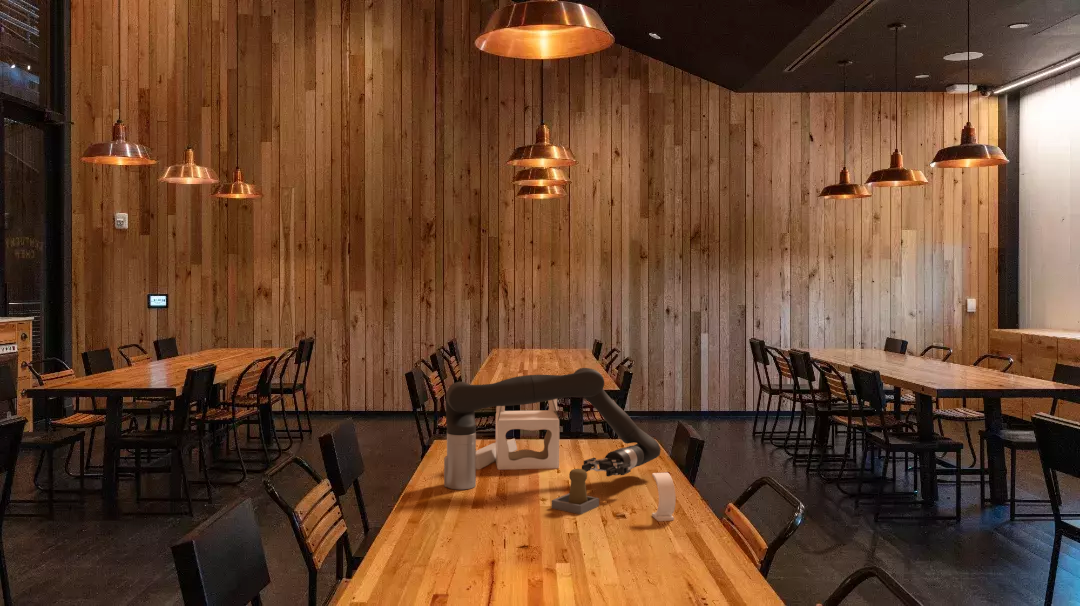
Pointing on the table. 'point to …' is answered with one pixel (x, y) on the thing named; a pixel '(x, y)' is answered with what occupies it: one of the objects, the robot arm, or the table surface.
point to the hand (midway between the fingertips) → (595, 471)
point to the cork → (578, 486)
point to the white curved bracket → (665, 497)
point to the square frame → (563, 504)
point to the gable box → (528, 422)
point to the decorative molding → (491, 453)
